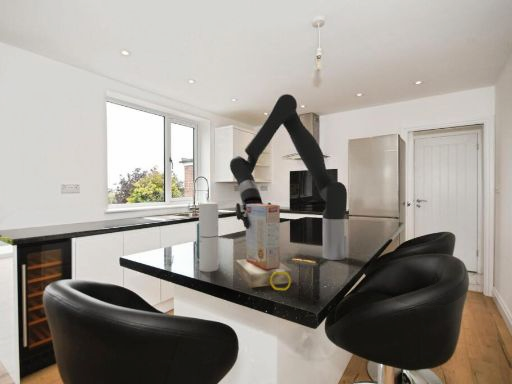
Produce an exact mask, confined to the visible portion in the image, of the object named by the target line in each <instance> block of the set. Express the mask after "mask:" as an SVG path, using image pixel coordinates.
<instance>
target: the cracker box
mask: <svg viewBox="0 0 512 384" xmlns="http://www.w3.org/2000/svg"><path fill="white" fill-rule="evenodd" d="M246 210H247V213H248V215H247V217H248V221H249V225H250V226H249V229H246V228H245V259H246V261H248V262H250V263H252V264H254V265H257V266H259V267H261V268H263V269H265V270H267V269H274V268H279V267H280V263H281V262H280V255H281V254H280V253H281V251H280V250H281V249H280V241H281V237H280V234H281V233H280V231H281V229H280V226H281V225H280V224H281V223H280V221H281V217H280V215H281V213H280V211H281V209H280V205H278V204H271V205H269V204H268V203H267V204H266V203H263V204H246Z"/></svg>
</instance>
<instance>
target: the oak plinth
mask: <svg viewBox="0 0 512 384" xmlns="http://www.w3.org/2000/svg"><path fill="white" fill-rule="evenodd" d="M277 269H284V270H285V272H286V273H288V275H289V276H290V280H291V283H293V269H292V268H290V267H288V266H287V265H285V264H283V263H282V262H280V267H279V268H274V269H267V270H265V269H263V268H261V267H259V266H257V265H254V264H252V263H250V262H248V261H246V258H244V259H236V260H235V271H236V273H237V275H239V276H240V277H241V278H242V279H243V280H244V281H245V283H246V284H247V285H248V286H249V287H250V288H258V287H268V286H271V283H270V279H271V276H272V274H273V273H274V272H276V270H277ZM272 282H273V285H274V286H275V285H283V284H289V279H288V277H287V275H285V274H284V273H283V274H277V273H276V274H275V275H274V276H273V277H272ZM291 283H290V284H291Z"/></svg>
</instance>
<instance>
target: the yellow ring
mask: <svg viewBox="0 0 512 384" xmlns="http://www.w3.org/2000/svg"><path fill="white" fill-rule="evenodd" d="M276 273H277V274H283V273H284V274H285V275H287V277H288V279H289V283H287V284H288V285H287V286H286V287H277V286H275V285H273V282H272V277H273V276H274V275H275V274H276ZM270 283H271V285H270V286H271V288H273V289H274V290H275V291H287V290H288V289H289V288H290V286H291V280H290V276H289V275H288V273H286V272H285V270H284V269H277V270H276V272H274V273H273V274H272V276H271V279H270Z"/></svg>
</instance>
